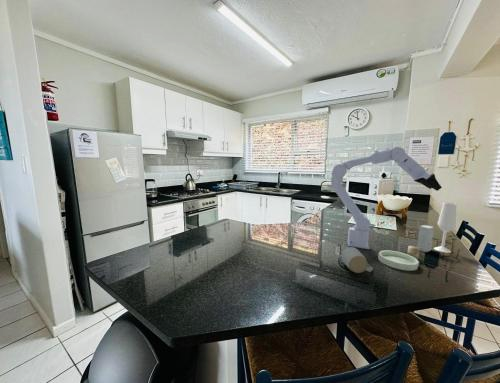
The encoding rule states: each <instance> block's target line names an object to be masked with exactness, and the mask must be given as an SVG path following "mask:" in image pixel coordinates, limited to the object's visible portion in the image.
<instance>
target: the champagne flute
mask: <svg viewBox="0 0 500 383" xmlns="http://www.w3.org/2000/svg"><path fill="white" fill-rule="evenodd" d="M440 210H441V211H440V214H439V217H438V221H437V223H436V224H437V226H438V227H439V229H440V230H441V231H443V232H442V233H443V234H442V239H441V244H440V246H436V247H433V250H435V251H437V252H441V253H445V254H446V253H447V254H450V253H452V251H451V250H450V249H448V248H447V247H445V246H446V239H447V233H448V232H450V231H451V232H452V231H453V230H455V228H456V227H457V226H456V223H457V203H453V202H443V203H442V207H441V209H440Z"/></svg>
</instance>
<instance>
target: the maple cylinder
mask: <svg viewBox="0 0 500 383" xmlns="http://www.w3.org/2000/svg"><path fill="white" fill-rule="evenodd" d="M406 254H408V255H410V256H412V257H414V258H416V259H417V260H418V261H419V254H420V250H419V248H418V247H417V246H414V245H408V247H407V253H406Z"/></svg>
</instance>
